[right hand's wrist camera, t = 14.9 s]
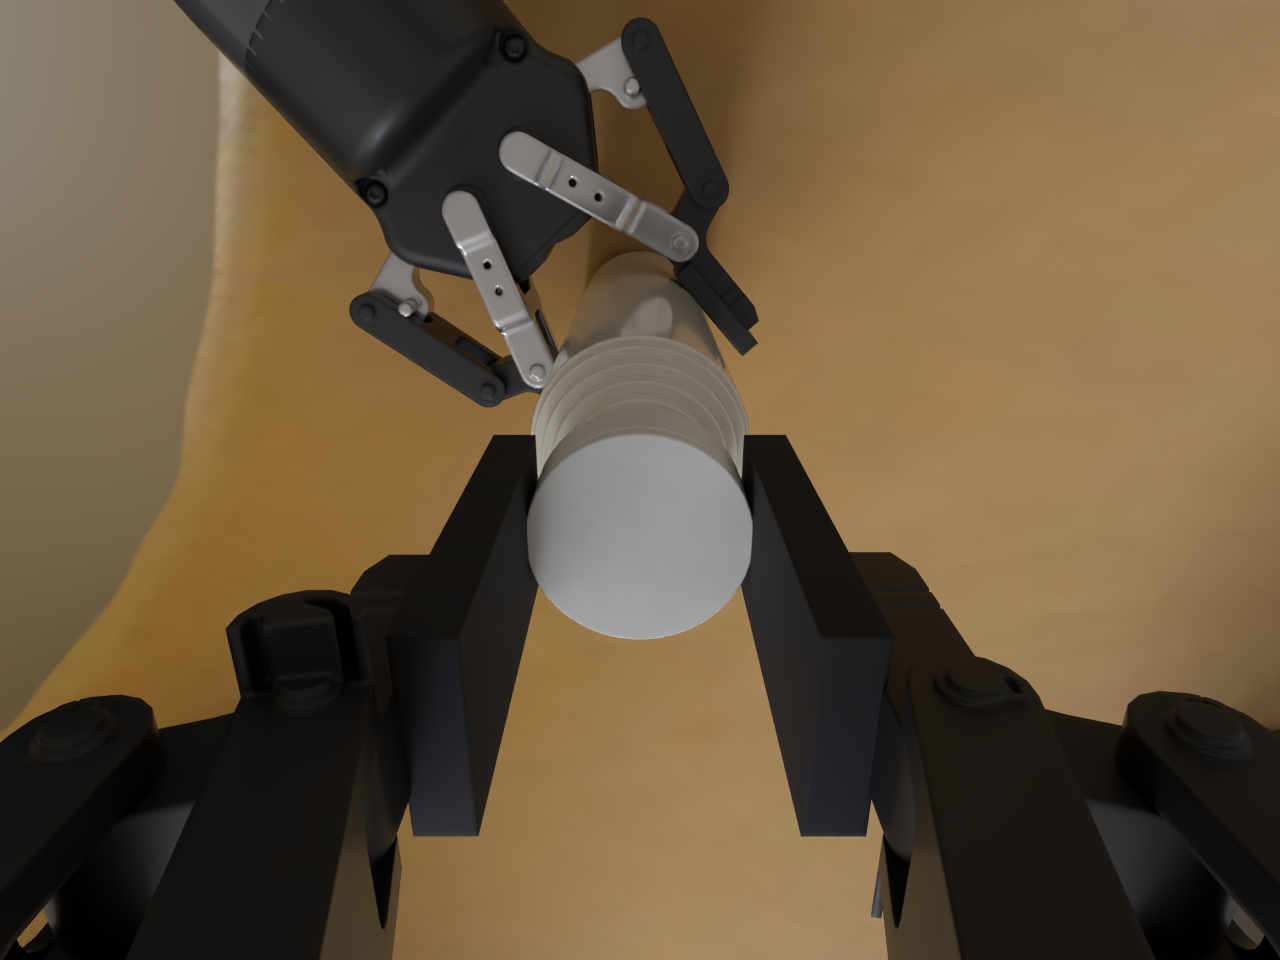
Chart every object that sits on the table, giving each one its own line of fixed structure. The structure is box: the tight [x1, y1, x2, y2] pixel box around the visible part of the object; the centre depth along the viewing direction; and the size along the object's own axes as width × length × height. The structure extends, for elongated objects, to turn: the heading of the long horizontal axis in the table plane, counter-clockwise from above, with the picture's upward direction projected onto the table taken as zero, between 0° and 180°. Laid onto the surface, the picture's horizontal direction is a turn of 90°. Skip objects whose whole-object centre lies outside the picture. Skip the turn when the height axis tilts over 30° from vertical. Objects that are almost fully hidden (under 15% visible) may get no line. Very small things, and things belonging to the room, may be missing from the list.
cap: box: [527, 408, 753, 639], centre depth 14 cm, size 4×4×2 cm
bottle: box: [530, 251, 749, 478], centre depth 24 cm, size 5×5×22 cm
